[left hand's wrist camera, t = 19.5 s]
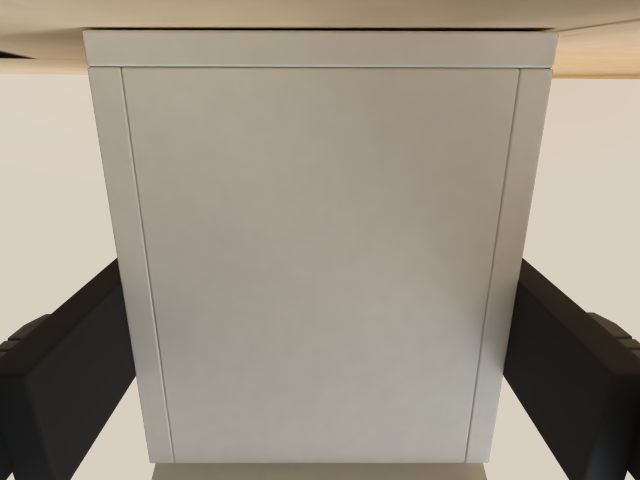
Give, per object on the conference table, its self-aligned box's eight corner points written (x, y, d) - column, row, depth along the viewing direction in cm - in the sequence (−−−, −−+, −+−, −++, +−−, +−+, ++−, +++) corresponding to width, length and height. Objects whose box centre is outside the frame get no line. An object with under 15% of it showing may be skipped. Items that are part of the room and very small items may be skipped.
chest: (408, 73, 23) (396, 265, 27) (229, 72, 23) (241, 265, 27) (560, 30, 9) (489, 463, 12) (80, 29, 9) (149, 463, 12)
